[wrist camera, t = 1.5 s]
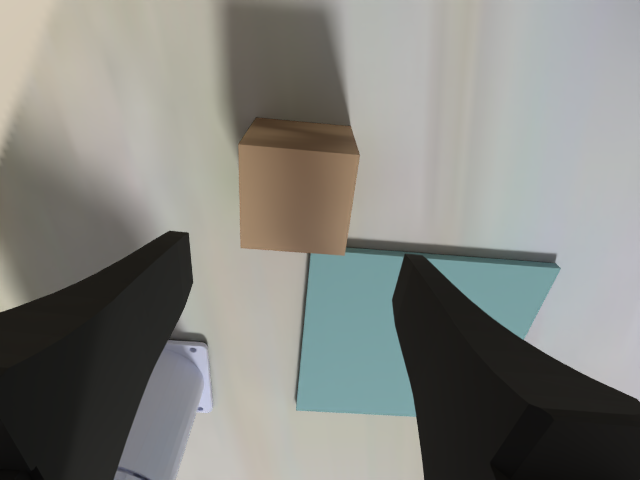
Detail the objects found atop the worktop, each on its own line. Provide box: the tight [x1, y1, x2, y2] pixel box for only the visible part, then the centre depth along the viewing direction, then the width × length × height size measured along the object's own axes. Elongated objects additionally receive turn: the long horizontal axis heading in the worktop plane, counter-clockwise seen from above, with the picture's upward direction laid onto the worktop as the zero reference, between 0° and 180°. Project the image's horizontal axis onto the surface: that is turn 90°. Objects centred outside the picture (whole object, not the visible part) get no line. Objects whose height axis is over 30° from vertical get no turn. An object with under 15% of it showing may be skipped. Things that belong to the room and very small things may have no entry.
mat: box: [296, 247, 561, 417], centre depth 27 cm, size 16×16×1 cm
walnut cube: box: [238, 117, 360, 256], centre depth 18 cm, size 5×5×5 cm
